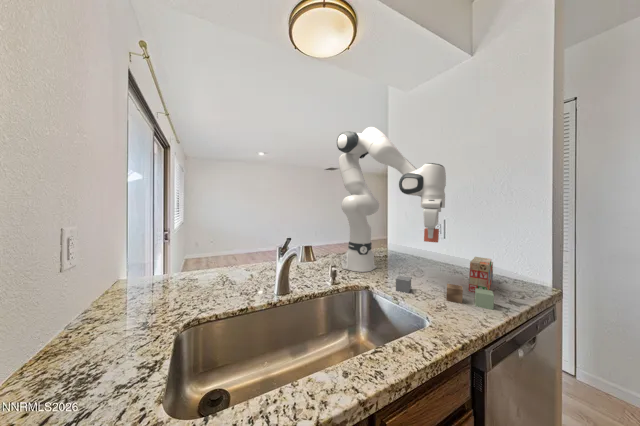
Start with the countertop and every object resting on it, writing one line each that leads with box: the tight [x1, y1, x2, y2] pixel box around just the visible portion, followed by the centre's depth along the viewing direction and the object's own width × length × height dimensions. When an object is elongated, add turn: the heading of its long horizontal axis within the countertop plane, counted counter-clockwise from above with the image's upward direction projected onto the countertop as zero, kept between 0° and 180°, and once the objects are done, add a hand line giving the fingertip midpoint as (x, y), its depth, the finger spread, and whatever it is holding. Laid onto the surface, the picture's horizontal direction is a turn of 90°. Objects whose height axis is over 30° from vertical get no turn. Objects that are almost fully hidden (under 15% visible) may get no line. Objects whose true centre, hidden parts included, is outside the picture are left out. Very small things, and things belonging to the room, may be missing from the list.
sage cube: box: [474, 288, 495, 310], centre depth 83 cm, size 5×5×5 cm
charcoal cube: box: [395, 275, 412, 294], centre depth 97 cm, size 5×5×5 cm
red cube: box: [423, 227, 440, 244], centre depth 97 cm, size 5×5×5 cm
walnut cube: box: [445, 283, 464, 305], centre depth 88 cm, size 5×5×5 cm
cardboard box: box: [468, 256, 494, 293], centre depth 103 cm, size 21×6×12 cm, turn 139°
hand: (431, 237), depth 97 cm, fingers closed on red cube, 5 cm apart
